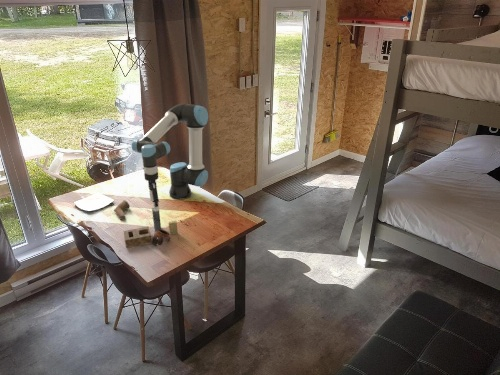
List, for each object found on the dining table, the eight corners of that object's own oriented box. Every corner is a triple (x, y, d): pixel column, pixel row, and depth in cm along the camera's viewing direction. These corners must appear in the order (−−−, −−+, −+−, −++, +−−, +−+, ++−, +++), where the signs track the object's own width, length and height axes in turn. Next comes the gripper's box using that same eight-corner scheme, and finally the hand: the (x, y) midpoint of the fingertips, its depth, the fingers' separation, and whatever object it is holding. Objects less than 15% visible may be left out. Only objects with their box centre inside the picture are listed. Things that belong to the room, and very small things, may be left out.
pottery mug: (150, 239, 222) (156, 227, 222) (166, 245, 225) (171, 232, 225) (150, 246, 211) (156, 233, 210) (166, 252, 214) (172, 238, 213)
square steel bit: (160, 227, 234) (158, 207, 228) (161, 230, 231) (159, 209, 225) (154, 228, 233) (151, 208, 226) (155, 231, 230) (152, 211, 223)
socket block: (149, 233, 227) (148, 226, 225) (152, 242, 219) (151, 235, 217) (124, 238, 222) (123, 231, 220) (126, 247, 214) (125, 240, 212)
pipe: (118, 215, 237) (133, 208, 241) (110, 204, 249) (125, 198, 253) (121, 223, 240) (136, 216, 244) (113, 212, 253) (128, 206, 257)
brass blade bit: (177, 232, 229) (176, 220, 226) (177, 233, 228) (176, 222, 224) (169, 233, 228) (168, 221, 224) (170, 235, 226) (169, 223, 223)
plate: (89, 215, 246) (88, 212, 244) (72, 206, 256) (71, 202, 255) (116, 203, 260) (116, 200, 259) (99, 195, 271) (98, 191, 270)
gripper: (141, 164, 224) (145, 197, 233) (147, 182, 203) (151, 216, 213) (154, 163, 226) (157, 195, 236) (161, 180, 206) (165, 214, 215)
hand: (154, 205), depth 224 cm, fingers open, 13 cm apart
